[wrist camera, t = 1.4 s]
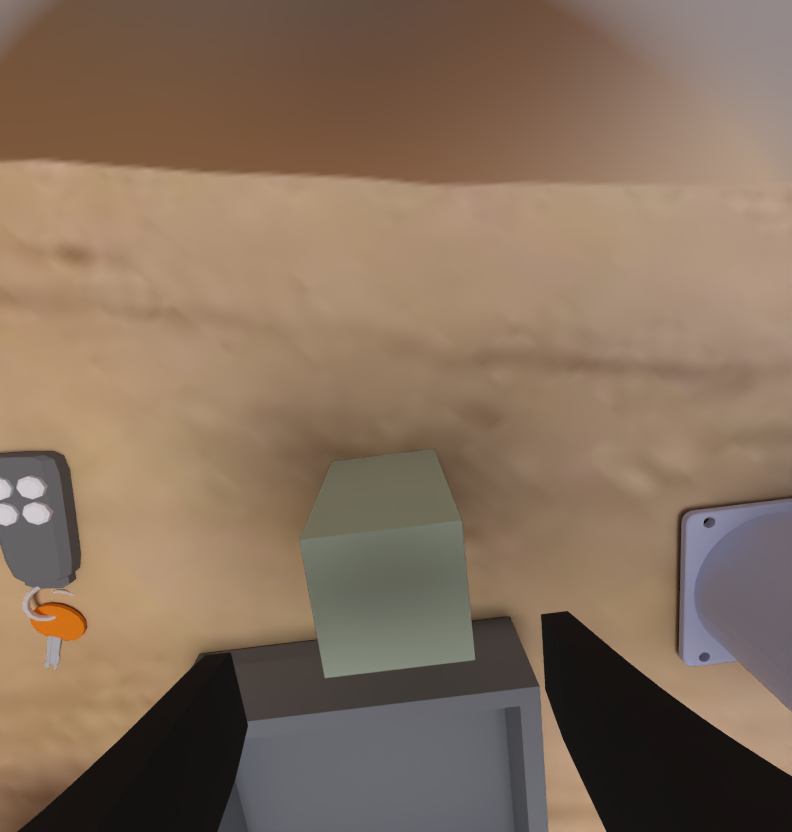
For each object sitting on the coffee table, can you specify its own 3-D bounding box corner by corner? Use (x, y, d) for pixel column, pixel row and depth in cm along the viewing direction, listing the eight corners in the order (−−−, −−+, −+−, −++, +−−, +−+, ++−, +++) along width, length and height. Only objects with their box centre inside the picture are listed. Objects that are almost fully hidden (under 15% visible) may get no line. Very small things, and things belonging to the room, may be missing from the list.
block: (433, 448, 18) (461, 520, 12) (444, 542, 19) (474, 659, 12) (332, 461, 18) (299, 540, 12) (346, 554, 19) (324, 678, 12)
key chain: (-10, 449, 18) (-45, 460, 17) (74, 447, 18) (47, 457, 17) (49, 697, 21) (23, 724, 20) (122, 695, 21) (103, 722, 20)
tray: (509, 616, 20) (539, 686, 16) (527, 853, 23) (556, 960, 19) (199, 654, 20) (154, 732, 16) (258, 885, 23) (232, 998, 19)
